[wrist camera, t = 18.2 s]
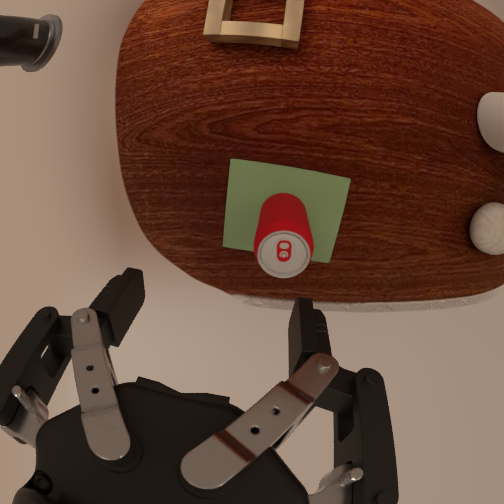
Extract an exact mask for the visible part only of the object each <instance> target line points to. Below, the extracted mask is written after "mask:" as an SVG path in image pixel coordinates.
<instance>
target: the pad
mask: <svg viewBox="0 0 504 504" xmlns="http://www.w3.org/2000/svg"><path fill="white" fill-rule="evenodd" d="M350 181H351V179H350V178H345V177H341V176H336V175H331V174H326V173H321V172H316V171H311V170H306V169H300V168H294V167H288V166H282V165H276V164H269V163H263V162H255V161H248V160H240V159H232V158H231V161H230V171H229V181H228V191H227V201H226V212H225V224H224V236H223V247H229V248H235V249H242V250H248V251H254V248H253V245H254V239H255V234H256V229H257V225H258V220H259V215H260V210H261V207H262V205H263V203H264V202H265V200H266V199H267V198H269V197H270V196H272V195H274V194H277V193H289V194H292V195H295V196H296V197H298V198H299V199H300V200H301V201H302V202H303V204H304V206H305V208H306V212H307V216H308V220H309V225H310V229H311V233H312V237H313V242H314V251H313V255H312V258H311V260H312V261H318V262H324V263H329V262H330V258H331V255H332V251H333V248H334V244H335V241H336V237H337V233H338V230H339V226H340V222H341V218H342V214H343V210H344V206H345V202H346V198H347V194H348V190H349V185H350Z"/></svg>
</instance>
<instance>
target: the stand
mask: <svg viewBox="0 0 504 504" xmlns="http://www.w3.org/2000/svg"><path fill="white" fill-rule="evenodd" d="M232 4H233V0H209V4H208V9H207V15H206V20H205V26H204V32H203V35H204V36H205V37H206V38H207V39H208V40H209V41H211V42H227V43H247V44H259V45H269V46H278V47H285V48H292V49H298V44H299V39H300V31H301V24H302V16H303V8H304V0H287V2H286V9H285V16H284V23H283V25H279V24H270V23H259V22H243V21H230V15H231V9H232Z"/></svg>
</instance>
